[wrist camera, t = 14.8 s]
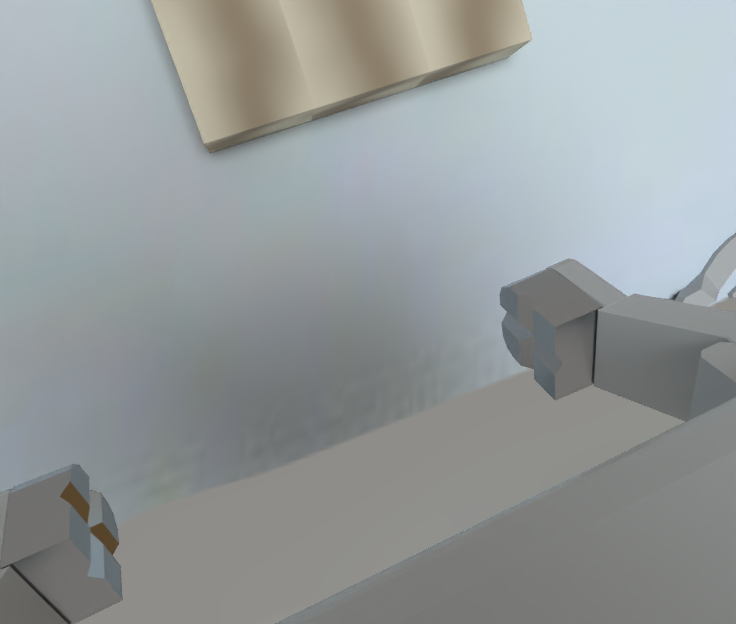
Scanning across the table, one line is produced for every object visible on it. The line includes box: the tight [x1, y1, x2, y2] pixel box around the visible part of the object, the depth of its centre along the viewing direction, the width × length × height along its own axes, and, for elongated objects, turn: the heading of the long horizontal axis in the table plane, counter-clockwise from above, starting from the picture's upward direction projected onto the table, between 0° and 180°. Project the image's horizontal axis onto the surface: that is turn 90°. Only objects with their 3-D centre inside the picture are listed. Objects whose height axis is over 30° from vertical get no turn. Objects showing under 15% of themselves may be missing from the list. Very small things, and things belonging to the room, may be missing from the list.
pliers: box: [666, 233, 736, 307], centre depth 35 cm, size 10×2×15 cm
